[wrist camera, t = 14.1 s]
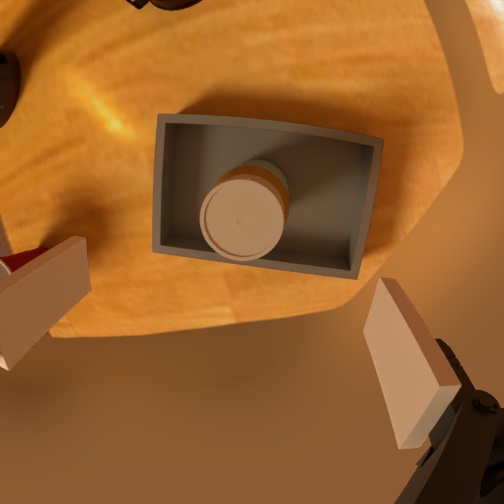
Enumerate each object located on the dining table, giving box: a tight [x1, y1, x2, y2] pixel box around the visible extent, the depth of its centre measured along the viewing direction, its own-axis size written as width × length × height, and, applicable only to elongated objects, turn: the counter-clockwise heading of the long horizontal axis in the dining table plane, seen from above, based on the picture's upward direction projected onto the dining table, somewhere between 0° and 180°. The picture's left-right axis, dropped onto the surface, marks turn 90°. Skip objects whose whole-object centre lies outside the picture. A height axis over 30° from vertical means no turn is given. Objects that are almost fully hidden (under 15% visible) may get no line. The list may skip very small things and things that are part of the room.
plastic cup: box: [0, 248, 48, 281], centre depth 39 cm, size 11×11×12 cm
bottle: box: [200, 159, 290, 261], centre depth 30 cm, size 7×7×15 cm
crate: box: [152, 114, 384, 280], centre depth 35 cm, size 16×24×5 cm, turn 84°
